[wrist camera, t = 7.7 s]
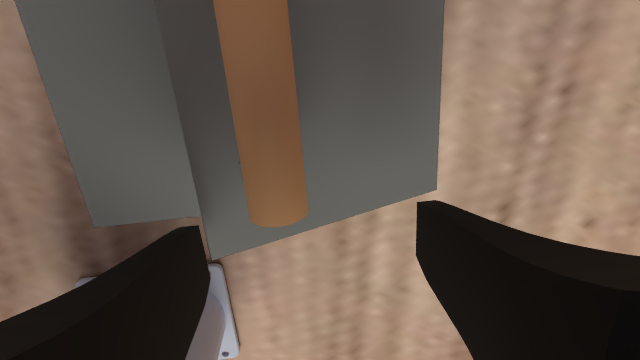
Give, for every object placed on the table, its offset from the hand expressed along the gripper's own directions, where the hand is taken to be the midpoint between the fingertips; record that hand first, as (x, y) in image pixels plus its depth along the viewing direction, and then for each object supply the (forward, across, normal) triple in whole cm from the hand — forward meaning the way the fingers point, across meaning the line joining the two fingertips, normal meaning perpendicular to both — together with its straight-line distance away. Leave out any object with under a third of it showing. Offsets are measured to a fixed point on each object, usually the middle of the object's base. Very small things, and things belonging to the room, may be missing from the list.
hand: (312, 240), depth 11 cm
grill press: (+5, -1, -5) cm, 7 cm away
